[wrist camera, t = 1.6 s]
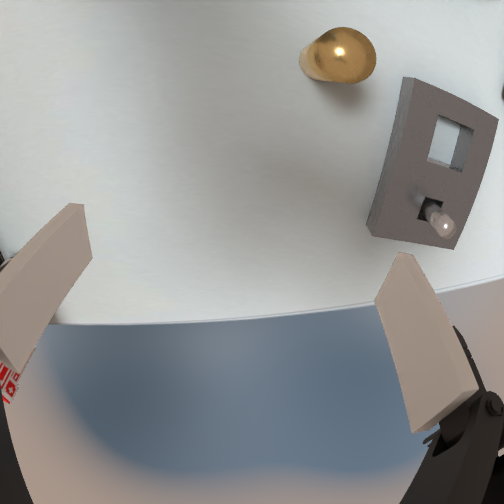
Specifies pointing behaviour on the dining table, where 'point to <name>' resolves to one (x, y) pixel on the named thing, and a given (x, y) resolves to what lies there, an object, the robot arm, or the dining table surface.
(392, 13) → the dining table surface
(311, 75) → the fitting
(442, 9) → the dining table surface
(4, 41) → the dining table surface
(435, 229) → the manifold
